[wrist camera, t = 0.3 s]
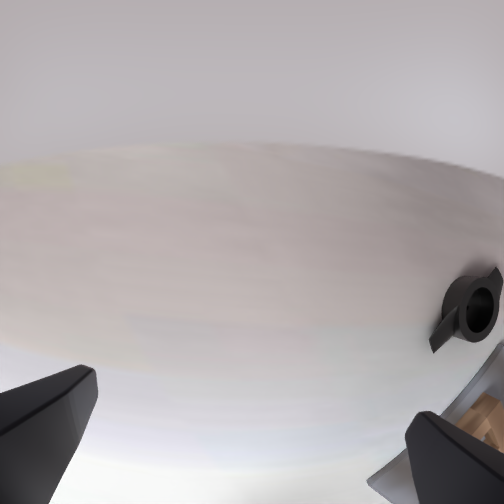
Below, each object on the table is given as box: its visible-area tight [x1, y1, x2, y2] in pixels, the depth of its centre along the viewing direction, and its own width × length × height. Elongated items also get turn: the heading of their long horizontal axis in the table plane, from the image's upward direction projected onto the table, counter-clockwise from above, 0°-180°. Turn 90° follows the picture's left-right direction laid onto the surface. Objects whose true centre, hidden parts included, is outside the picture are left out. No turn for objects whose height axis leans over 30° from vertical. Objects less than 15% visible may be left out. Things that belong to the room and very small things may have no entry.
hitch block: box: [366, 344, 504, 504], centre depth 20 cm, size 20×14×4 cm
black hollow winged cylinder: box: [429, 267, 503, 353], centre depth 22 cm, size 8×10×3 cm
